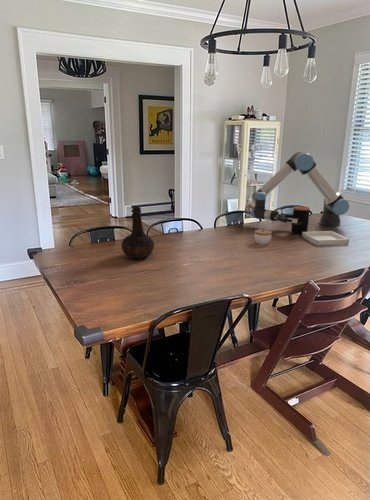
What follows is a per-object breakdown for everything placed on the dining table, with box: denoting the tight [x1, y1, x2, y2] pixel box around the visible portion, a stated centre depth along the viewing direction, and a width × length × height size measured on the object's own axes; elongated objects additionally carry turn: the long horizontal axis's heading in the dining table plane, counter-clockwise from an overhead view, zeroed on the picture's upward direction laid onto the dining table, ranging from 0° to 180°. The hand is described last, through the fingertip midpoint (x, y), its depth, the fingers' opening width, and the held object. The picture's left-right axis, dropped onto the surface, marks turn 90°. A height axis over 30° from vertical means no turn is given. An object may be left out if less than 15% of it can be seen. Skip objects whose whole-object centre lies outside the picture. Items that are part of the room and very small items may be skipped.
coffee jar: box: [290, 205, 311, 236], centre depth 256 cm, size 11×11×18 cm
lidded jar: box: [254, 228, 273, 246], centre depth 233 cm, size 11×11×9 cm
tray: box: [301, 230, 350, 247], centre depth 241 cm, size 21×21×4 cm
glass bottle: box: [121, 206, 155, 260], centre depth 203 cm, size 18×18×28 cm
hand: (300, 219), depth 256 cm, fingers open, 13 cm apart
